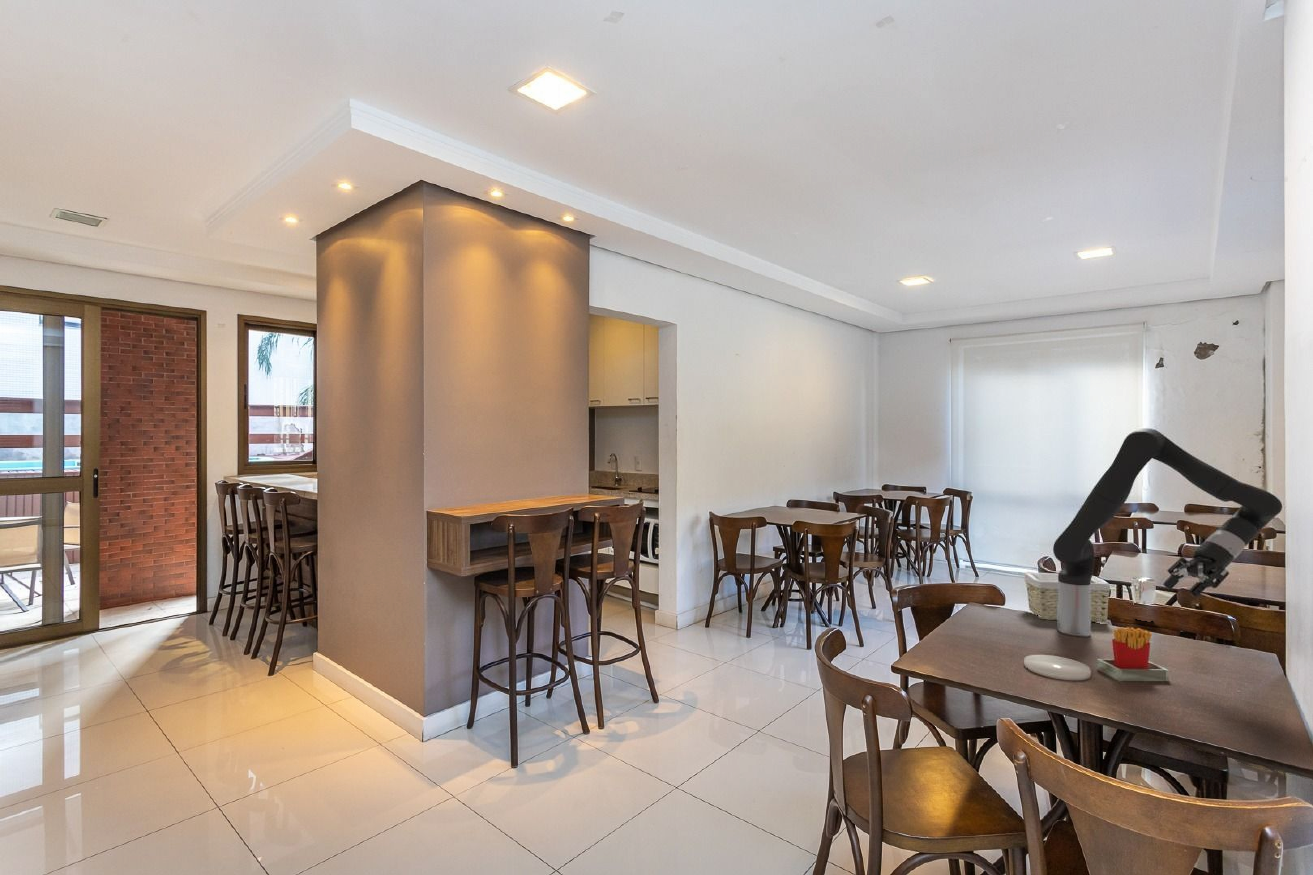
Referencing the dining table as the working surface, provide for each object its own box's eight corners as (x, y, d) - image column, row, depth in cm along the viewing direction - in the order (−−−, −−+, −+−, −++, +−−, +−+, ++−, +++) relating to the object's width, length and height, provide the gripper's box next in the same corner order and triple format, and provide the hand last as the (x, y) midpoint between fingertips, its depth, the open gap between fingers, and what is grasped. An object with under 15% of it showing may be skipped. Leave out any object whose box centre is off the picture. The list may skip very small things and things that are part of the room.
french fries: (1118, 677, 172) (1118, 630, 172) (1109, 671, 176) (1109, 625, 176) (1155, 678, 170) (1154, 631, 170) (1145, 672, 175) (1144, 627, 175)
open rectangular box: (1096, 669, 177) (1096, 658, 177) (1144, 669, 177) (1144, 658, 177) (1118, 680, 169) (1118, 669, 169) (1169, 681, 169) (1169, 670, 169)
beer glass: (1127, 618, 227) (1126, 577, 228) (1139, 616, 230) (1139, 576, 230) (1147, 623, 221) (1147, 581, 221) (1160, 621, 223) (1160, 580, 223)
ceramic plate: (1012, 659, 185) (1012, 654, 185) (1066, 659, 185) (1066, 654, 185) (1045, 680, 169) (1045, 674, 169) (1104, 680, 169) (1104, 674, 169)
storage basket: (1037, 620, 226) (1037, 580, 226) (1022, 608, 242) (1022, 570, 242) (1112, 624, 220) (1112, 583, 220) (1092, 612, 236) (1092, 574, 236)
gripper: (1188, 536, 180) (1149, 575, 180) (1233, 544, 166) (1190, 587, 166) (1206, 554, 180) (1167, 594, 180) (1253, 564, 166) (1210, 606, 166)
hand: (1178, 590), depth 173 cm, fingers open, 8 cm apart
